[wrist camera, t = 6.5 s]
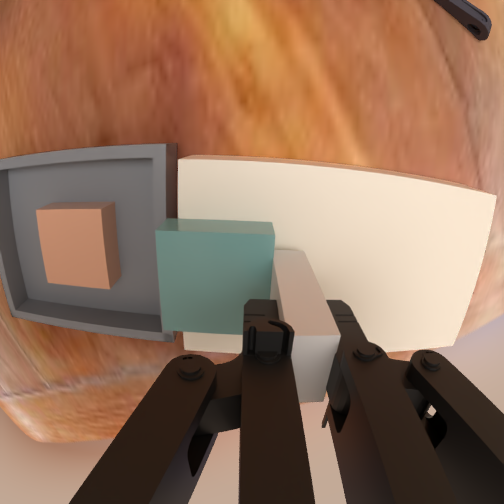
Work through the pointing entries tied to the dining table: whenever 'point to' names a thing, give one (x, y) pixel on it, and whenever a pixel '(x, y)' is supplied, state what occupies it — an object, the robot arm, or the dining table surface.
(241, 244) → the green glazed tile
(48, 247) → the terracotta tile
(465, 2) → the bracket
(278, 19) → the dining table surface
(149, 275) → the tray
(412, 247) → the cream board
